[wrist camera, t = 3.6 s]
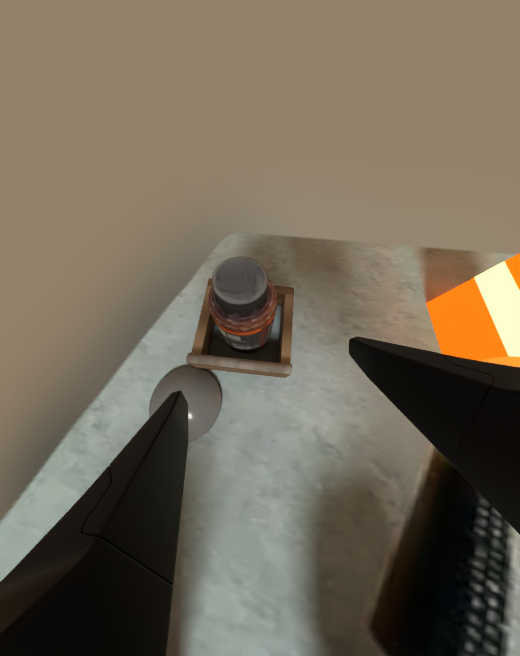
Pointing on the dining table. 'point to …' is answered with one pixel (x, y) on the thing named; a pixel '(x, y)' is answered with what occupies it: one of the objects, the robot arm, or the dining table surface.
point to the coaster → (191, 397)
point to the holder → (280, 369)
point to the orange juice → (482, 316)
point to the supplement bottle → (243, 303)
